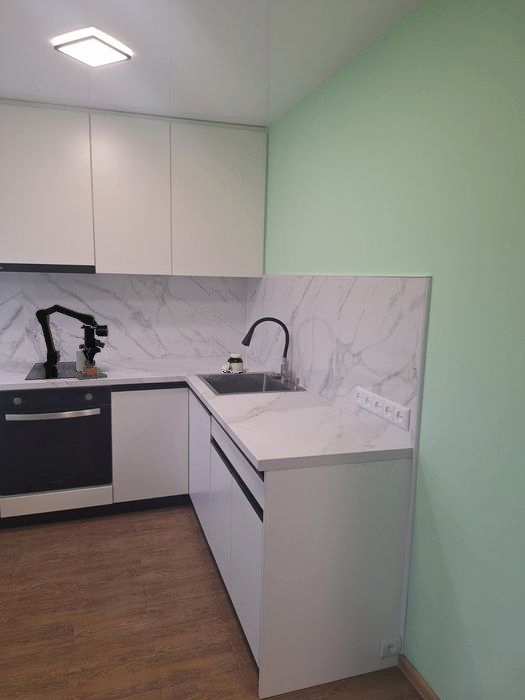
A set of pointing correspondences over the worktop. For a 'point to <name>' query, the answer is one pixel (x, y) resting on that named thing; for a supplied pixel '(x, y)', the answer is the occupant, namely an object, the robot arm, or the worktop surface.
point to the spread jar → (233, 363)
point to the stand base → (89, 374)
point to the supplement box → (80, 360)
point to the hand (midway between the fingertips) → (89, 362)
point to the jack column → (89, 363)
